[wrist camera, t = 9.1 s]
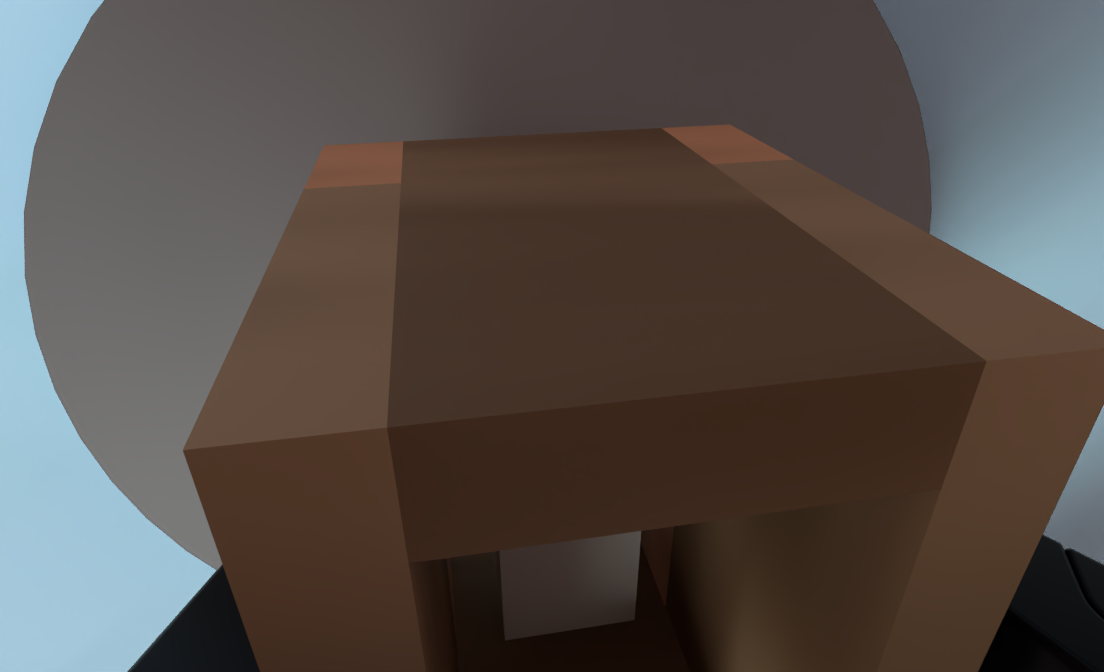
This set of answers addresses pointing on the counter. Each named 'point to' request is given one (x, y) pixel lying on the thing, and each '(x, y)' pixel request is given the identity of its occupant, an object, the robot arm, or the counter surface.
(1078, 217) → the counter surface
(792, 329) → the walnut sleeve
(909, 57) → the counter surface
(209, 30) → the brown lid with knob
